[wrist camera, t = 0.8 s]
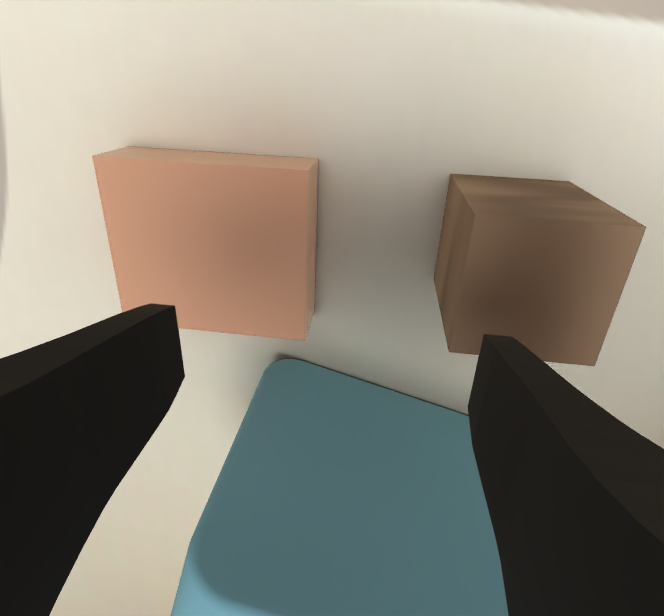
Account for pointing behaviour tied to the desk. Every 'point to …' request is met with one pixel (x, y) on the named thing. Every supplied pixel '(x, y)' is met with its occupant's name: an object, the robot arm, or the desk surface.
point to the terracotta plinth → (214, 237)
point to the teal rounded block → (344, 508)
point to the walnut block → (531, 265)
